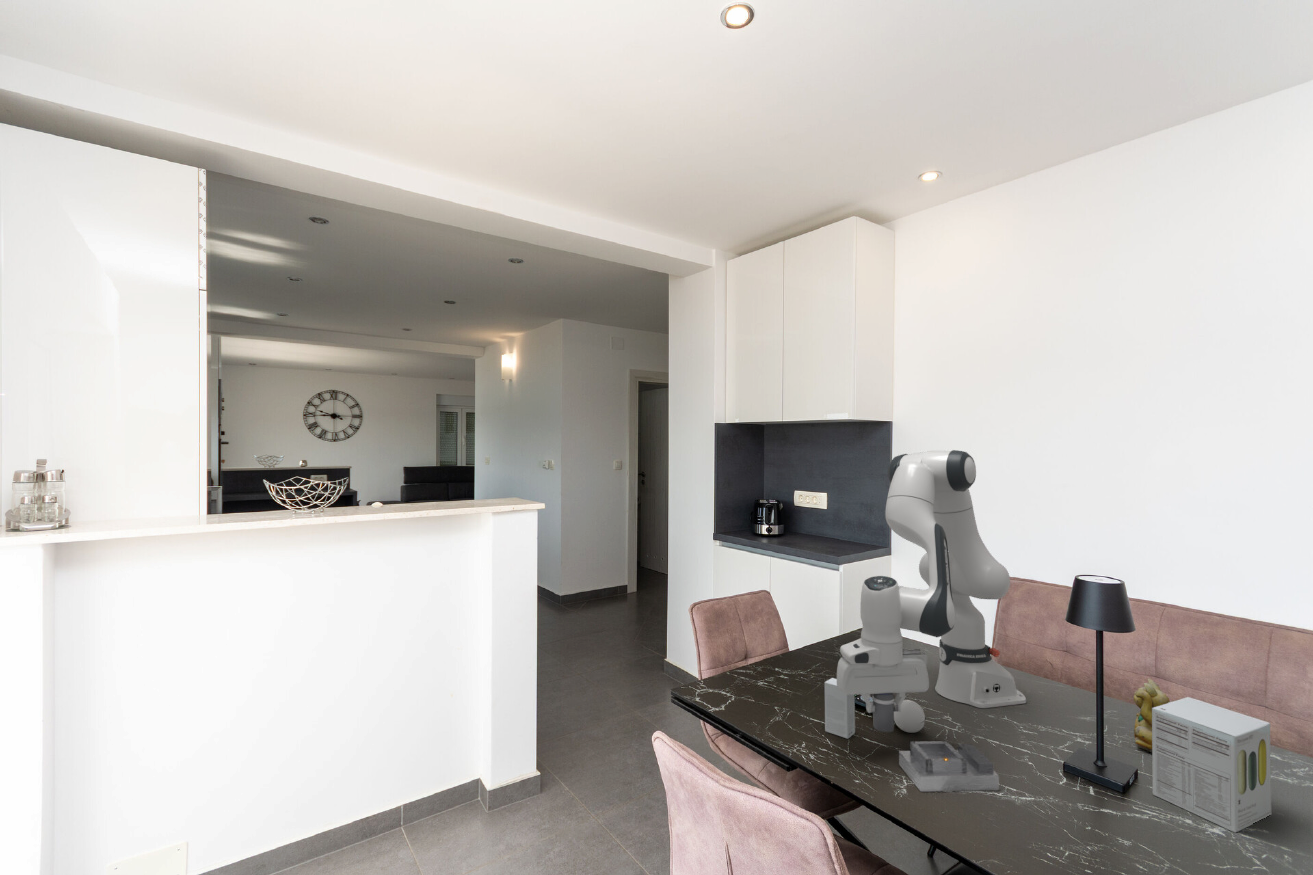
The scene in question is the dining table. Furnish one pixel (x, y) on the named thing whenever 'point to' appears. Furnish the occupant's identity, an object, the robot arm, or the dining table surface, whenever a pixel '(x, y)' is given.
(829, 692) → the skincare box
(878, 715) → the lens
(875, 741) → the dining table surface
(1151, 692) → the decorative figurine
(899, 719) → the white egg
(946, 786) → the grey holder dock
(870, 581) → the robot arm
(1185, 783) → the supplement box
